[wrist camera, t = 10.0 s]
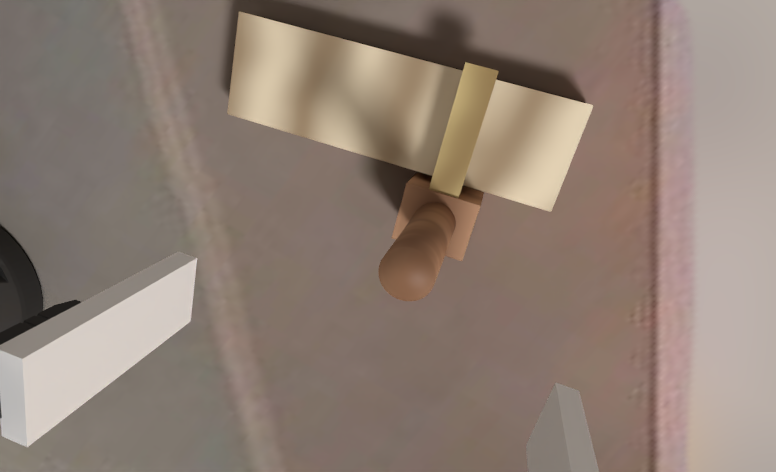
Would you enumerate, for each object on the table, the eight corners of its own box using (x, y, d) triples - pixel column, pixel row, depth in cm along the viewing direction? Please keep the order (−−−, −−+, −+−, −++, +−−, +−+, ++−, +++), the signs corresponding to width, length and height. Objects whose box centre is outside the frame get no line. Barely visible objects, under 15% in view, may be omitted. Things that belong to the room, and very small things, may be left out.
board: (241, 112, 36) (227, 113, 34) (253, 15, 33) (238, 11, 32) (548, 204, 32) (551, 211, 31) (588, 103, 30) (593, 105, 28)
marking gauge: (403, 221, 35) (349, 293, 23) (449, 58, 31) (410, 44, 19) (467, 242, 35) (444, 326, 23) (522, 77, 30) (529, 75, 18)
